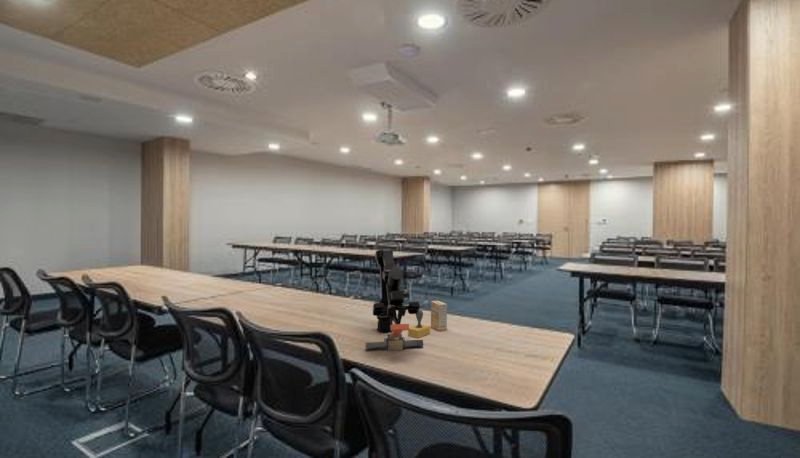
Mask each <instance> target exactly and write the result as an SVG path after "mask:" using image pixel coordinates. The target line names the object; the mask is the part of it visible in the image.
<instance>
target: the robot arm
mask: <svg viewBox="0 0 800 458" xmlns="http://www.w3.org/2000/svg"><path fill="white" fill-rule="evenodd" d="M393 251H394V250H393V249H392V248H390V247H387V248H381V249H379V250H376V251H375V254H374V258H375V259H374V260H375V261H376V265H377V267H378V268H379V277H380V279H379V280H380V296H381V297H380V300H379V302H374V303H373V306H372V315H373V316H374V317H375V316H376V319H377V327H376V331H379V332H381V333H389V332H391V333H392V331H391V328H390V325H392V324H393V323H394V324H402V323H401V322H402V318H403V317H405V316H406V312H407V313H408V314H410V315H416V314H417V313H418V311H419V309H420V308H421V306H420V302H419V301H418V300H417V301H415V300H414V301H408V304H404V303H405V302H404V299H408V298H409V290H408V289H402V290H401V286H402V281H403V278H404V272H403V271H402V269H400V268H399V267H398V265H395V262H394V252H393Z"/></svg>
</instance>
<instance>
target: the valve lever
mask: <svg viewBox="0 0 800 458" xmlns="http://www.w3.org/2000/svg"><path fill="white" fill-rule="evenodd" d="M390 328H391V333H390V337H391V338H397V337H399V335H400V334H402V332H403V331H408V330H409V328H410V324H409V323H400V324H395V323H394V324H392V325H390Z"/></svg>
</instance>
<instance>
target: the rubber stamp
mask: <svg viewBox="0 0 800 458" xmlns="http://www.w3.org/2000/svg"><path fill="white" fill-rule="evenodd" d="M415 317H416V321H417V324H416V325H414V326H412V327H411V326H410V327H409V330H407V336H408V337H411V338H414V339H419V338H423V337H424V336H427V335H430V334H431V325H428V324H423V323H421V322H422V319H423V318H424V311H422V309H420V308H419V311H418V313H417V314H415Z"/></svg>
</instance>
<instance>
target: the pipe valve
mask: <svg viewBox="0 0 800 458" xmlns="http://www.w3.org/2000/svg"><path fill="white" fill-rule="evenodd" d="M390 334H391V333H390ZM390 334H387V335H386V336H387V337H385V338H384V339H383V341H375V342H374V341H373V342H365V346H364V347H365V351H376V350H377V351H378V350H387V351H388V352H391V351H403V350H404V349H409V348H410V349H411V348H412V349H414V348H423V347H424V340H423V339H412V340H411V339H410V340H406V339H405V337H403V334H402V333H401V334H400V335H399V337H397V338H391V336H390Z"/></svg>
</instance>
